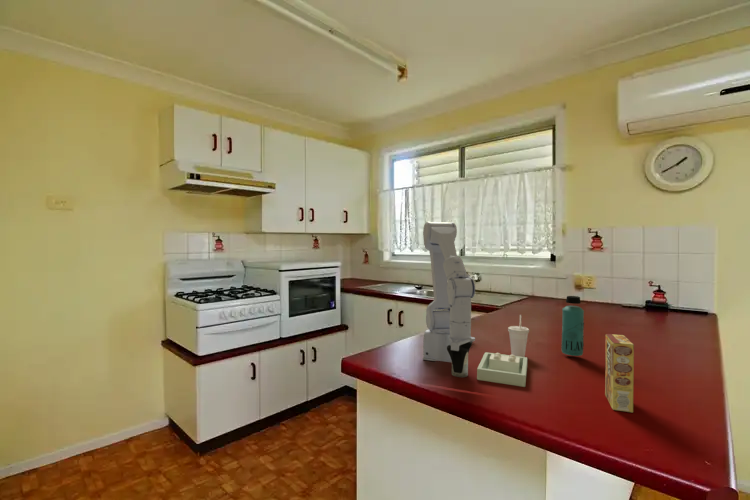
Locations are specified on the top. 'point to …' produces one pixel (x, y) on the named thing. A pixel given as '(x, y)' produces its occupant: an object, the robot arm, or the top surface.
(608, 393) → the candy box
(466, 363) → the tin can
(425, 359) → the robot arm
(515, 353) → the smoothie
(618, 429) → the top surface
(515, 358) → the egg carton
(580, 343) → the beverage bottle
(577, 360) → the top surface
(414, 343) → the top surface
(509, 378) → the tote
